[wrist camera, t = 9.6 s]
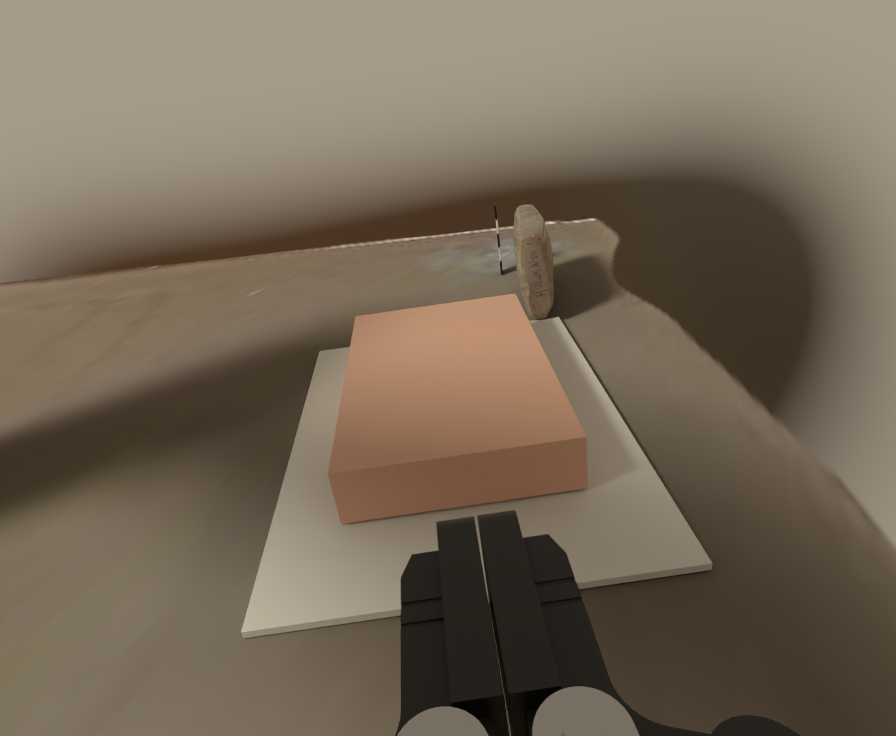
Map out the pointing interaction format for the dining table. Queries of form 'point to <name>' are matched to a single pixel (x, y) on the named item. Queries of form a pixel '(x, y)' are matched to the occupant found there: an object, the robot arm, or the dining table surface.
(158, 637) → the dining table surface
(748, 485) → the dining table surface
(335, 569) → the mat
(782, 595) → the dining table surface
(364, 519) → the tile
